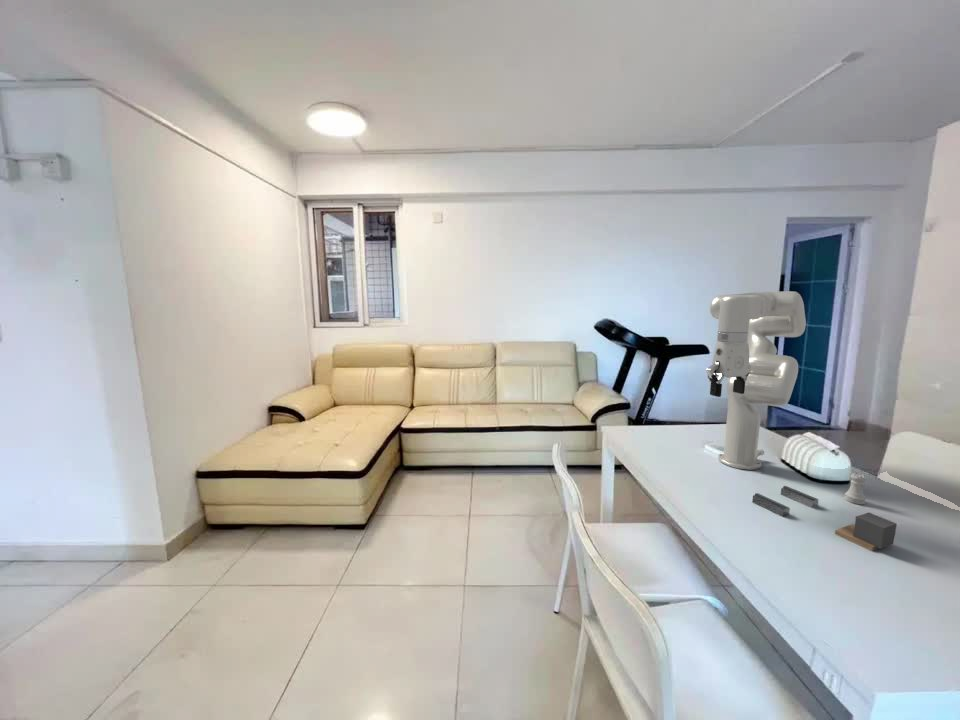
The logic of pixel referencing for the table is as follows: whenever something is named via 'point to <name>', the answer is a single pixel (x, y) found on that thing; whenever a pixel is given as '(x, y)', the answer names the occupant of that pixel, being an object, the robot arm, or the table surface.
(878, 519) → the dark gray cube
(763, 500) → the metal bars
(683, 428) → the table surface
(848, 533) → the pad
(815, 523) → the table surface
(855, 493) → the rook chess piece
